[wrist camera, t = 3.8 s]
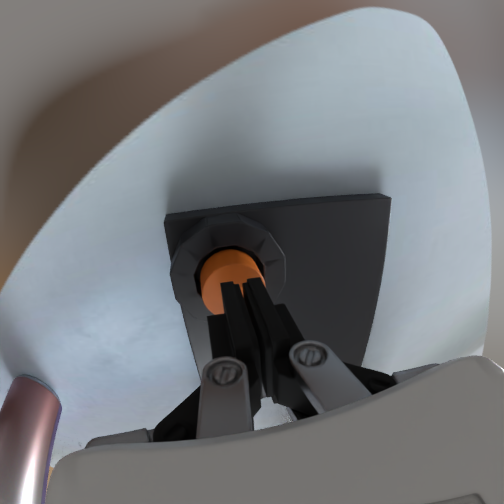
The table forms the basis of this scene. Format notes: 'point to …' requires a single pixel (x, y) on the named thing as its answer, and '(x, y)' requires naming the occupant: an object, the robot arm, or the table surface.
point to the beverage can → (27, 440)
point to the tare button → (225, 275)
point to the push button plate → (291, 264)
